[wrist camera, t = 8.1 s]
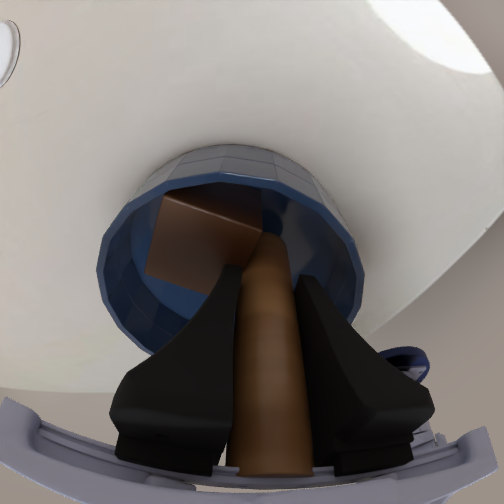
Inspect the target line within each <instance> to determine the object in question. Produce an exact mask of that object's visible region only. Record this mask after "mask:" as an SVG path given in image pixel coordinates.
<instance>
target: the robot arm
mask: <svg viewBox="0 0 504 504" xmlns="http://www.w3.org/2000/svg"><path fill="white" fill-rule="evenodd" d="M241 280H242V266H240V265H233V264H225V265H224V266H223V269H222V272H221V274H220V277H219V279H218V281H217V282H216V284H215V286H214V288H213V289H212V291H211V292H210V294H209V296H208V297H207V299H206V300H205V301H204V303H203V304H202V305H201V307H200V308H199V310H198V311H197V312H196V313H195V315H194V316H193V317H192V318H191V319H190V320H189V322H188V323H187V324H186V325H185V326H184V327H183V328H182V329H181V330H180V331H179V332H178V333H177V334H176V335H175V336H174V337H173V338H172V339H171V340H170V341H169V342H168V343H166V344H165V345H164V346H163V347H162V348H160V349H159V350H158V351H157V352H155V353H154V354H153V355H152V356H150V357H149V358H148V359H146V360H145V361H143V362H142V363H140V364H139V365H137V366H136V367H134V368H133V369H131V370H130V371H128V372H127V373H126V375H125V376H124V378H123V380H122V381H121V383H120V385H119V387H118V389H117V391H116V393H115V396H114V398H113V401H112V405H111V408H110V412H109V415H110V418H111V420H112V422H113V423H114V425H115V427H116V428H117V430H118V432H119V436H118V440H117V444H116V446H112V445H109V444H106V443H102V442H99V441H96V440H93V439H90V438H87V437H84V436H81V435H78V434H75V433H73V432H70V431H67V430H65V429H62V428H60V427H57V426H55V425H52V424H50V423H48V422H45V421H43V420H41V419H40V417H39V416H38V414H37V413H35V412H34V411H33V410H31V409H30V408H28V407H26V406H24V405H22V404H20V403H18V402H16V401H14V400H12V399H10V398H8V397H4V399H3V402H2V404H1V406H0V463H1V464H3V465H5V466H6V467H8V468H10V469H11V470H13V471H15V472H16V473H18V474H20V475H22V476H24V477H25V478H28V479H29V480H31V481H33V482H35V483H37V484H39V485H41V486H43V487H45V488H47V489H49V490H52V491H54V492H56V493H58V494H60V495H63V496H65V497H68V498H70V499H72V500H75V501H77V502H80V503H83V504H445V503H446V502H447V501H448V500H449V499H450V497H451V496H452V495H453V493H454V492H456V491H459V490H461V489H463V488H465V487H467V486H469V485H471V484H473V483H475V482H477V481H479V480H481V479H483V478H485V477H486V476H488V475H490V474H492V473H493V472H495V471H497V470H498V465H497V461H496V458H495V454H494V451H493V448H492V445H491V441H490V438H489V435H488V432H487V429H486V427H485V426H483V427H480V428H478V429H475V430H472V431H470V432H468V433H466V434H464V435H463V436H461V437H460V438H459V439H458V440H457V441H454V442H451V443H448V444H447V441H446V438H445V435H442V434H440V433H437V434H435V437H436V440H437V442H435V438H434V435H433V432H432V430H431V428H430V424H429V421H428V420H429V418H431V417H432V415H433V413H434V412H435V407H434V404H433V401H432V398H431V396H430V393H429V390H428V388H426V387H424V386H423V385H421V384H419V383H418V382H416V380H417V379H418V377H419V376H420V375H421V374H422V373H423V372H424V371H425V370H426V366H425V365H420V366H400V367H394V366H393V365H392V364H390V363H389V362H388V361H387V360H385V359H384V358H383V357H382V356H381V355H380V354H378V353H377V352H376V351H375V350H374V349H373V348H372V347H371V346H370V345H369V344H368V343H367V342H366V341H365V340H364V339H363V338H362V337H361V336H360V335H359V334H358V333H357V332H356V331H355V330H354V328H353V327H352V326H351V325H350V324H349V322H348V321H347V320H346V319H345V318H344V316H343V315H342V314H341V312H340V311H339V310H338V308H337V307H336V306H335V304H334V303H333V302H332V300H331V299H330V298H329V296H328V295H327V293H326V292H325V290H324V289H323V288H322V286H321V285H320V283H319V282H318V280H317V279H316V278H315V276H312V275H305V274H300V275H299V278H298V281H297V284H296V287H295V290H294V297H295V304H296V310H297V317H298V324H299V331H300V339H301V346H302V354H303V362H304V370H305V378H306V387H307V395H308V404H309V413H310V422H311V432H312V442H313V452H314V463H315V467H314V468H312V469H313V473H314V476H312V477H301V478H249V477H239V476H236V473H238V472H239V467H228V466H218V463H219V460H220V457H221V454H222V453H223V451H224V448H225V445H226V443H227V440H228V437H229V434H230V431H231V428H232V423H233V333H234V317H235V311H236V306H237V301H238V296H239V290H240V285H241ZM436 443H437V445H436ZM355 482H357V483H356V484H350V485H343V486H335V487H326V488H315V489H301V490H289V491H280V492H271V493H218V492H202V491H196V487H195V486H194V485H192V484H197V485H205V486H214V487H225V488H241V489H298V488H314V487H325V486H334V485H342V484H349V483H355ZM188 483H189V484H188Z"/></svg>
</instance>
